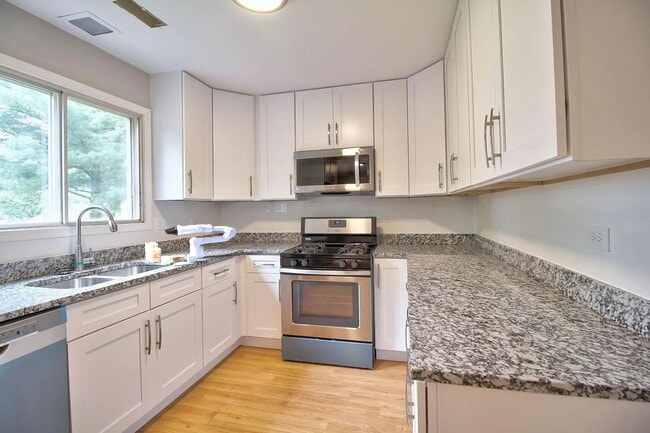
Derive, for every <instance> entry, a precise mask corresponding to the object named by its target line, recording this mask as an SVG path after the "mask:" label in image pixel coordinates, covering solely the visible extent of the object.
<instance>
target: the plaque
mask: <svg viewBox="0 0 650 433" xmlns="http://www.w3.org/2000/svg"><path fill="white" fill-rule="evenodd" d="M172 265H173V266H174V267H181V266H182V267H183V266H190V263H188V262H187V261H185V262H174V263H172Z"/></svg>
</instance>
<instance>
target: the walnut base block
mask: <svg viewBox="0 0 650 433" xmlns="http://www.w3.org/2000/svg"><path fill="white" fill-rule="evenodd" d="M185 260H186V258H185V255H183V254H180V255H179V254H178V255H170V261H171V263H172V264H173V263H182V261H185ZM185 262H186V261H185Z"/></svg>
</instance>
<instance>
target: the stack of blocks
mask: <svg viewBox="0 0 650 433" xmlns="http://www.w3.org/2000/svg"><path fill="white" fill-rule="evenodd" d="M144 245H145V259H146V261H148V262H150V264H151V263H160V262H161V263H162V252H161V250H162V249H161V248H160V247H159V244H158V243H156V242H149V243H147V242H145V244H144Z"/></svg>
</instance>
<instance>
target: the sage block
mask: <svg viewBox="0 0 650 433" xmlns="http://www.w3.org/2000/svg"><path fill="white" fill-rule="evenodd" d="M171 263H172V262H171V255H169V256H161V266H166V265H167V266H168V265H171Z"/></svg>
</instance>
